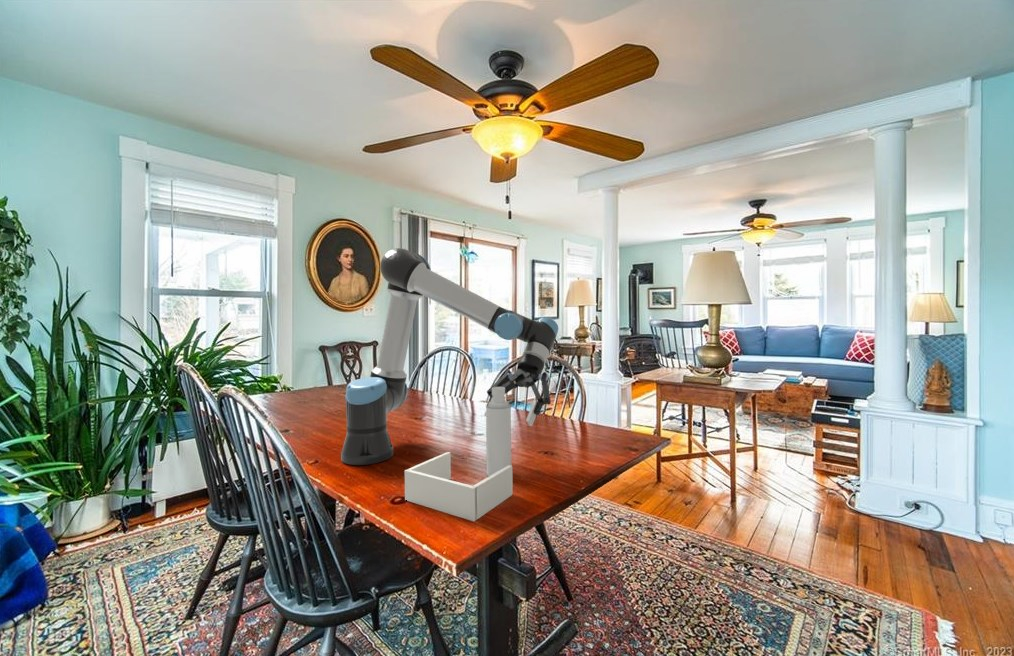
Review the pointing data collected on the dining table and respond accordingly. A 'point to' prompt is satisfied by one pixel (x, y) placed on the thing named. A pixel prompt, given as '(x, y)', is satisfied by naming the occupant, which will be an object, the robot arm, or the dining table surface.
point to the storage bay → (455, 489)
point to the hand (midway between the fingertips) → (507, 420)
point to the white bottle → (498, 432)
